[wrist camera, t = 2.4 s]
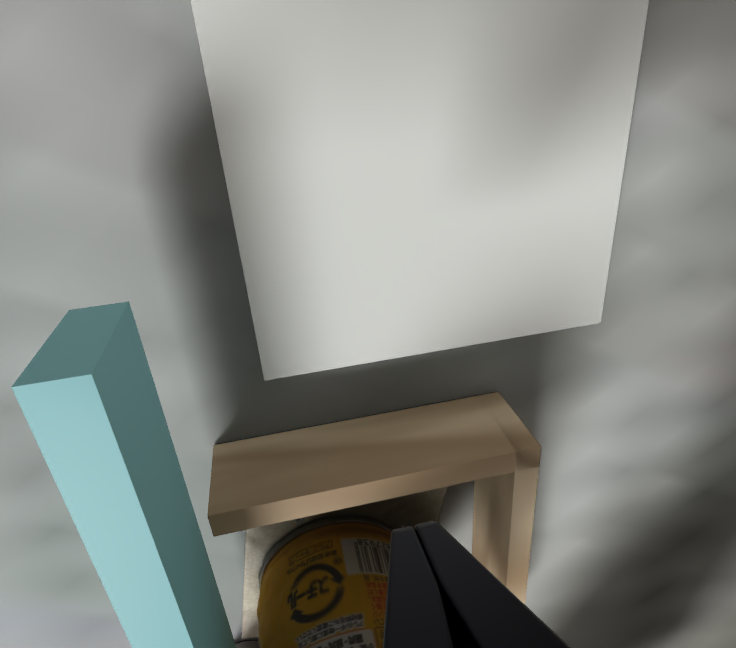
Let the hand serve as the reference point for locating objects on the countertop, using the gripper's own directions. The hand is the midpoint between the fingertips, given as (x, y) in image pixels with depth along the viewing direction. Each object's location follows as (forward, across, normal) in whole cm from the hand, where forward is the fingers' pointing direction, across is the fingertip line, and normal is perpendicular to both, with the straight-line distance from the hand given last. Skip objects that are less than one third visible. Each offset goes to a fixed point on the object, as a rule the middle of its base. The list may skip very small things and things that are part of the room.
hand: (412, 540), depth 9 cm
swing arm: (+5, +5, +4) cm, 8 cm away
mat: (+8, -3, -5) cm, 10 cm away
